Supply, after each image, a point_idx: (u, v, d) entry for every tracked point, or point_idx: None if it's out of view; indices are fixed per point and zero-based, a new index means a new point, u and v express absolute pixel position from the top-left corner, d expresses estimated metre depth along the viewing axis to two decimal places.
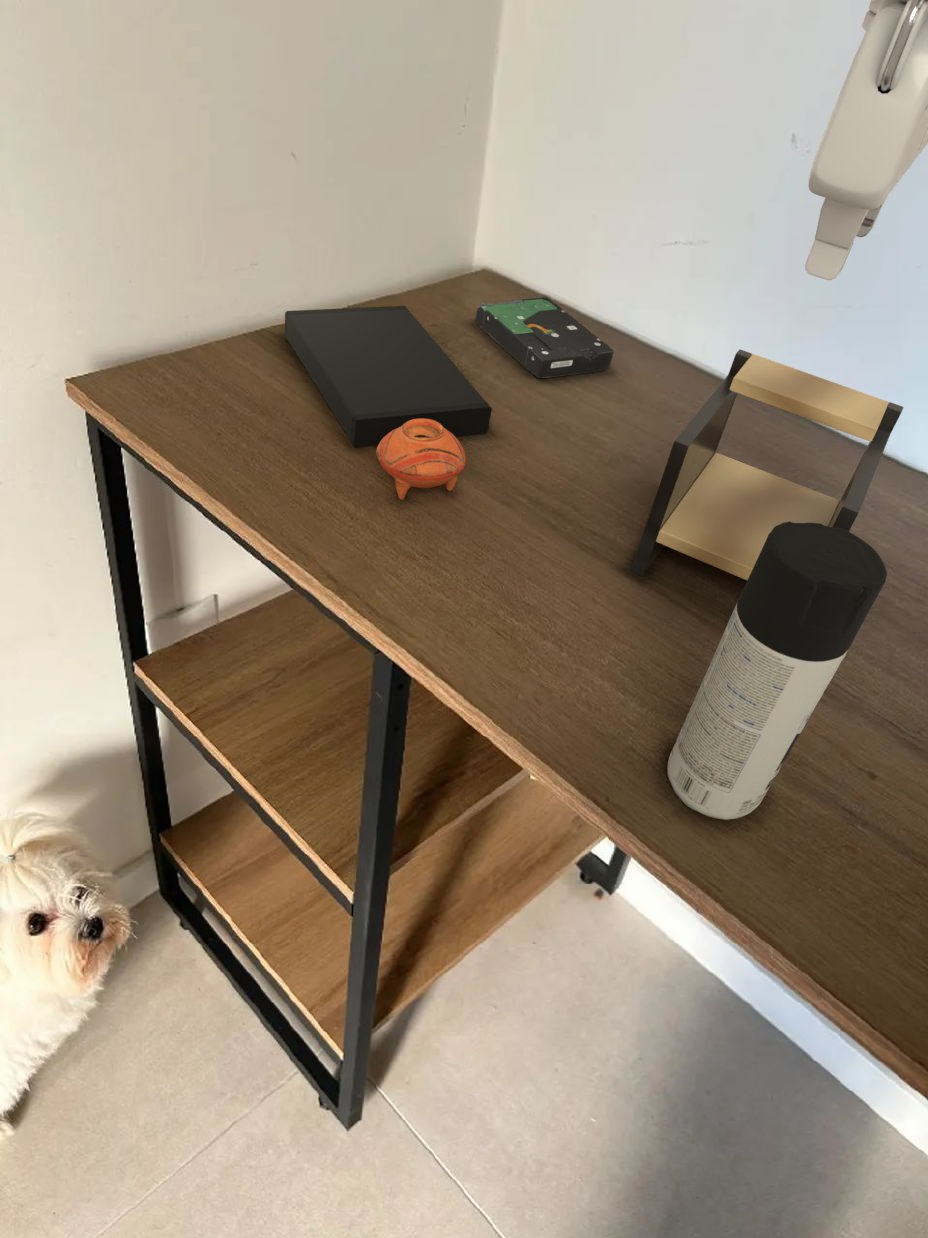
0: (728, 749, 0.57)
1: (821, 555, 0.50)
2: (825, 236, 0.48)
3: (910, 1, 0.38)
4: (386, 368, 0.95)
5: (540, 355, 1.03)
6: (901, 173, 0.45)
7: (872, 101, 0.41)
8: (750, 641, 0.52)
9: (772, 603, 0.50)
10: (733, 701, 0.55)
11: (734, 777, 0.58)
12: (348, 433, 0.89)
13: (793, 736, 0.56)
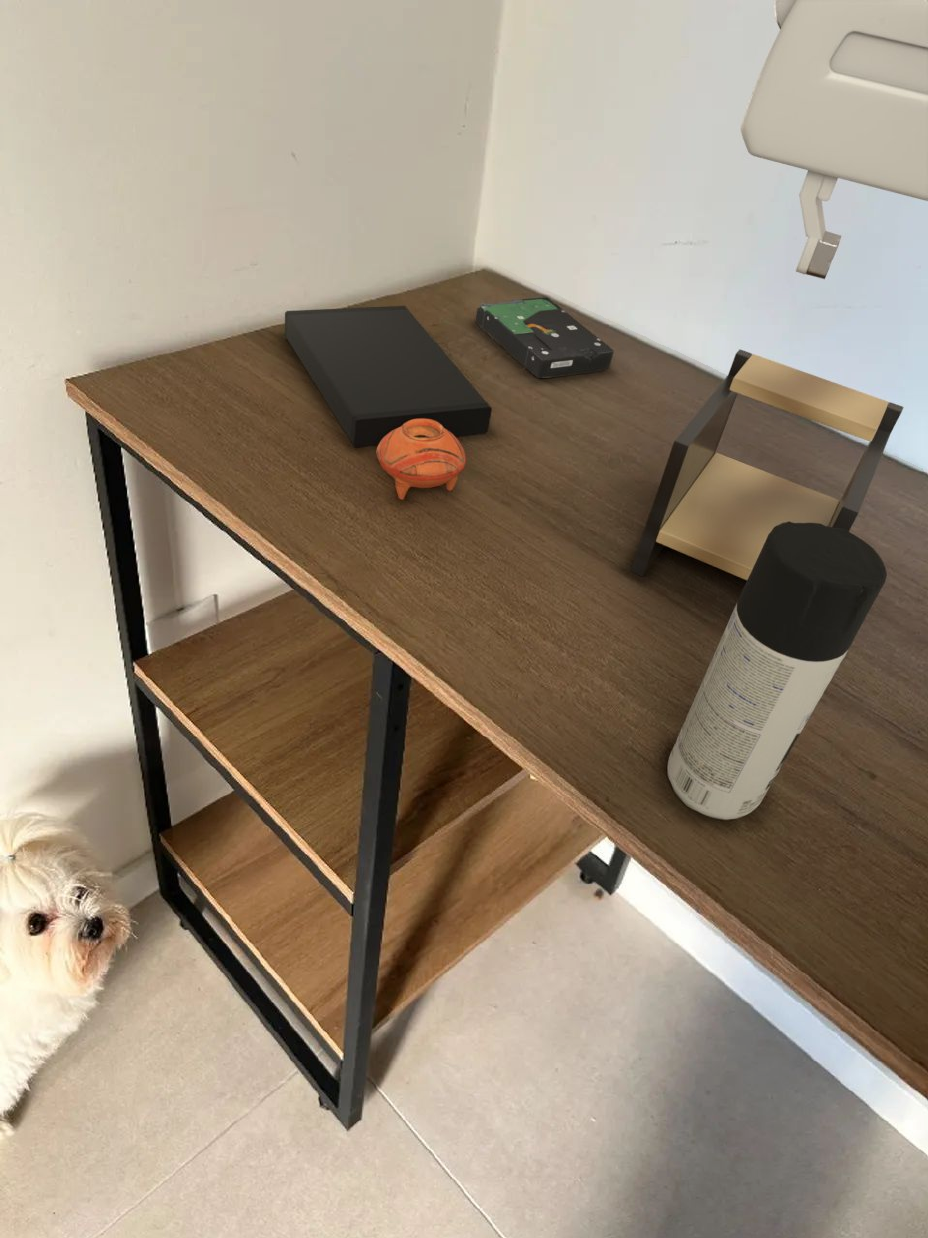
0: (728, 749, 0.57)
1: (820, 555, 0.50)
2: None
3: None
4: (386, 368, 0.95)
5: (540, 354, 1.03)
6: (841, 153, 0.41)
7: None
8: (750, 641, 0.52)
9: (772, 603, 0.50)
10: (733, 701, 0.55)
11: (734, 777, 0.58)
12: (348, 433, 0.89)
13: (793, 736, 0.56)
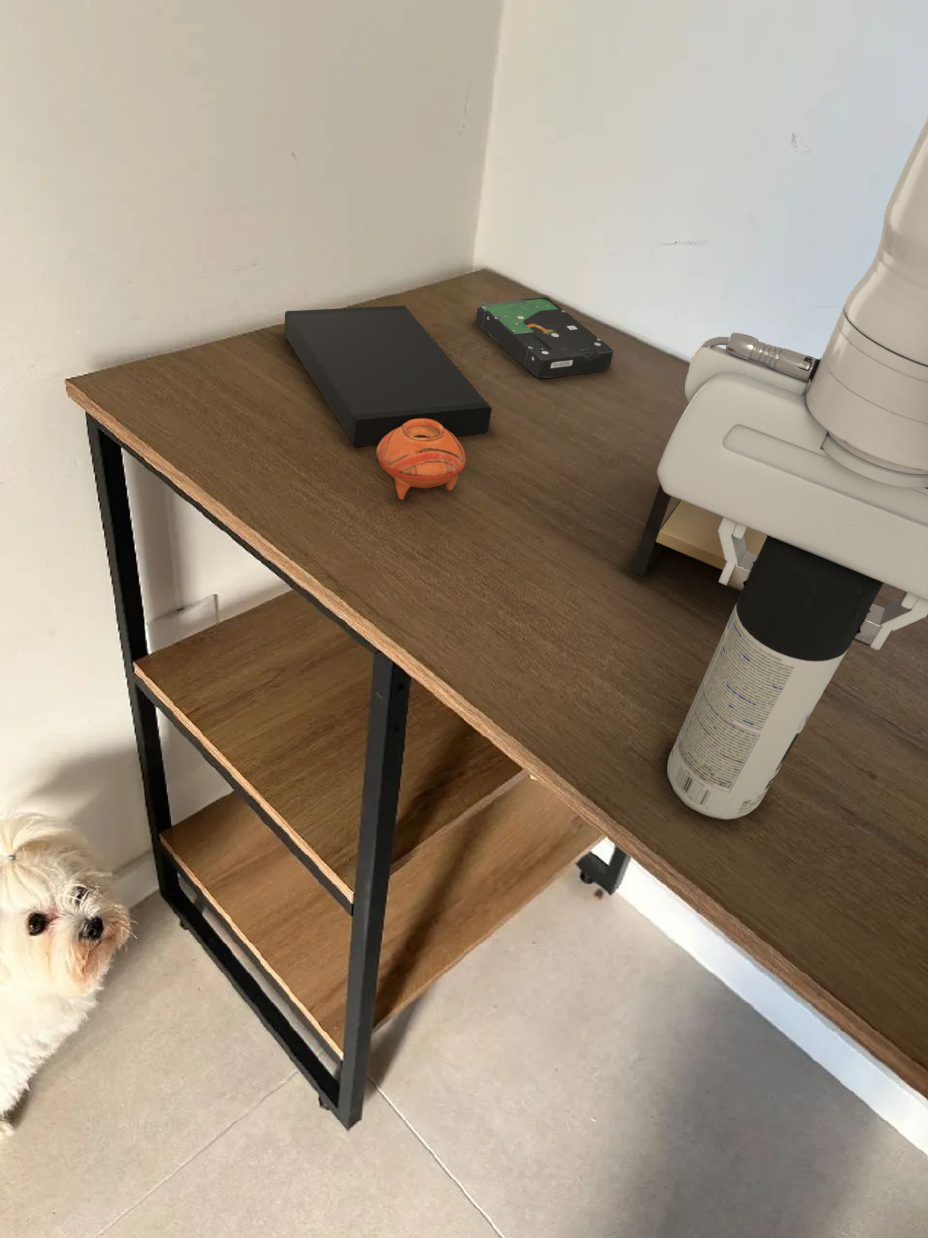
0: (727, 749, 0.57)
1: None
2: None
3: None
4: (385, 368, 0.95)
5: (540, 354, 1.03)
6: (734, 507, 0.49)
7: None
8: (749, 640, 0.52)
9: (771, 603, 0.50)
10: (733, 701, 0.55)
11: (734, 777, 0.58)
12: (348, 433, 0.89)
13: (793, 736, 0.56)
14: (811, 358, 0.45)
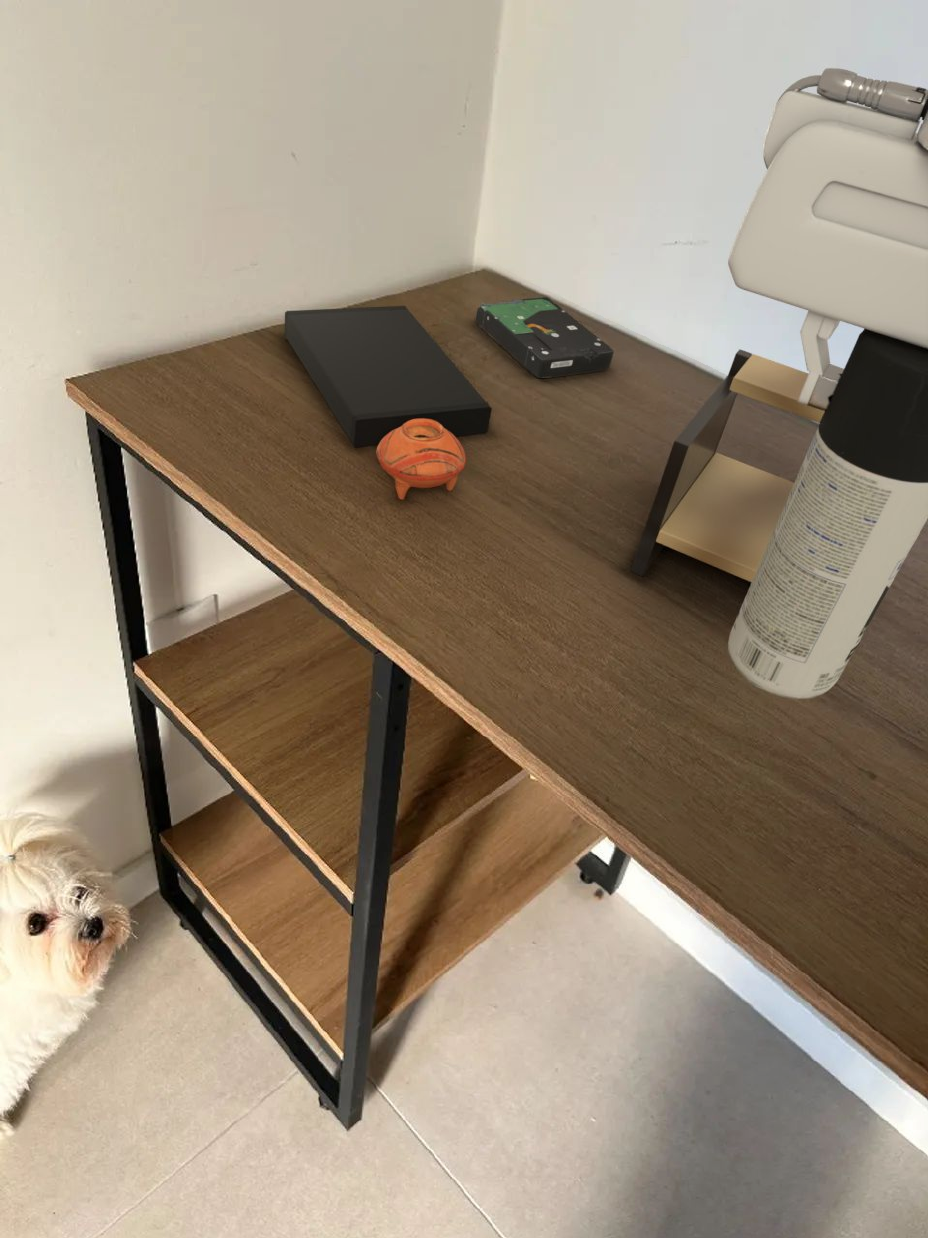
0: (806, 606, 0.49)
1: (924, 352, 0.42)
2: None
3: None
4: (385, 368, 0.95)
5: (540, 354, 1.03)
6: (823, 293, 0.42)
7: None
8: (837, 464, 0.44)
9: (867, 410, 0.42)
10: (814, 544, 0.47)
11: (811, 642, 0.50)
12: (348, 433, 0.89)
13: (882, 588, 0.48)
14: (924, 89, 0.38)
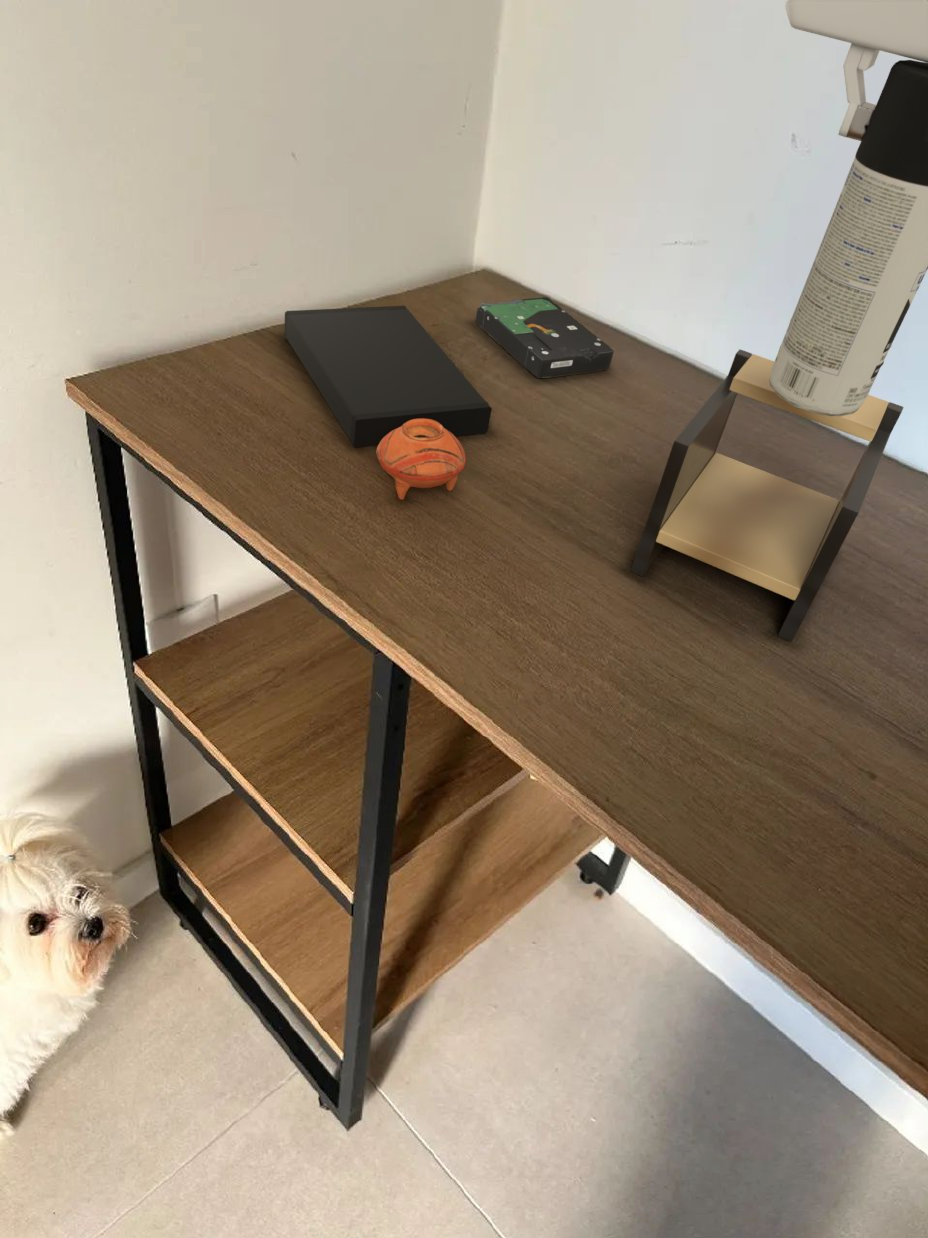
0: (840, 318, 0.58)
1: None
2: None
3: None
4: (385, 368, 0.95)
5: (540, 354, 1.03)
6: (864, 23, 0.51)
7: None
8: (872, 177, 0.54)
9: (898, 123, 0.52)
10: (850, 257, 0.56)
11: (844, 353, 0.60)
12: (348, 433, 0.89)
13: (905, 300, 0.58)
14: None
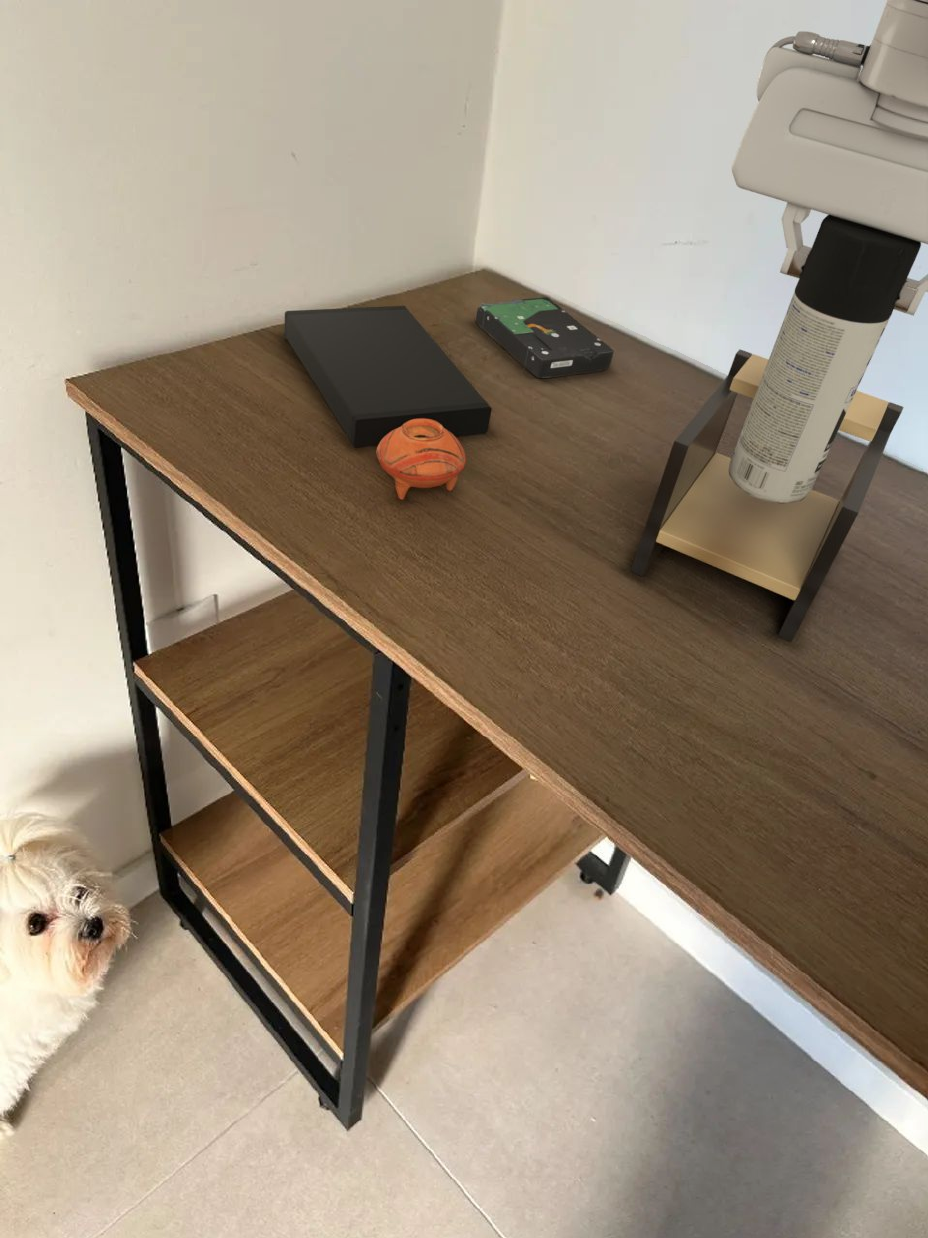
0: (785, 424, 0.68)
1: (867, 229, 0.61)
2: None
3: None
4: (385, 368, 0.95)
5: (540, 354, 1.03)
6: (797, 188, 0.61)
7: None
8: (807, 312, 0.63)
9: (827, 270, 0.61)
10: (791, 375, 0.66)
11: (790, 454, 0.69)
12: (348, 433, 0.89)
13: (840, 410, 0.67)
14: (863, 45, 0.56)
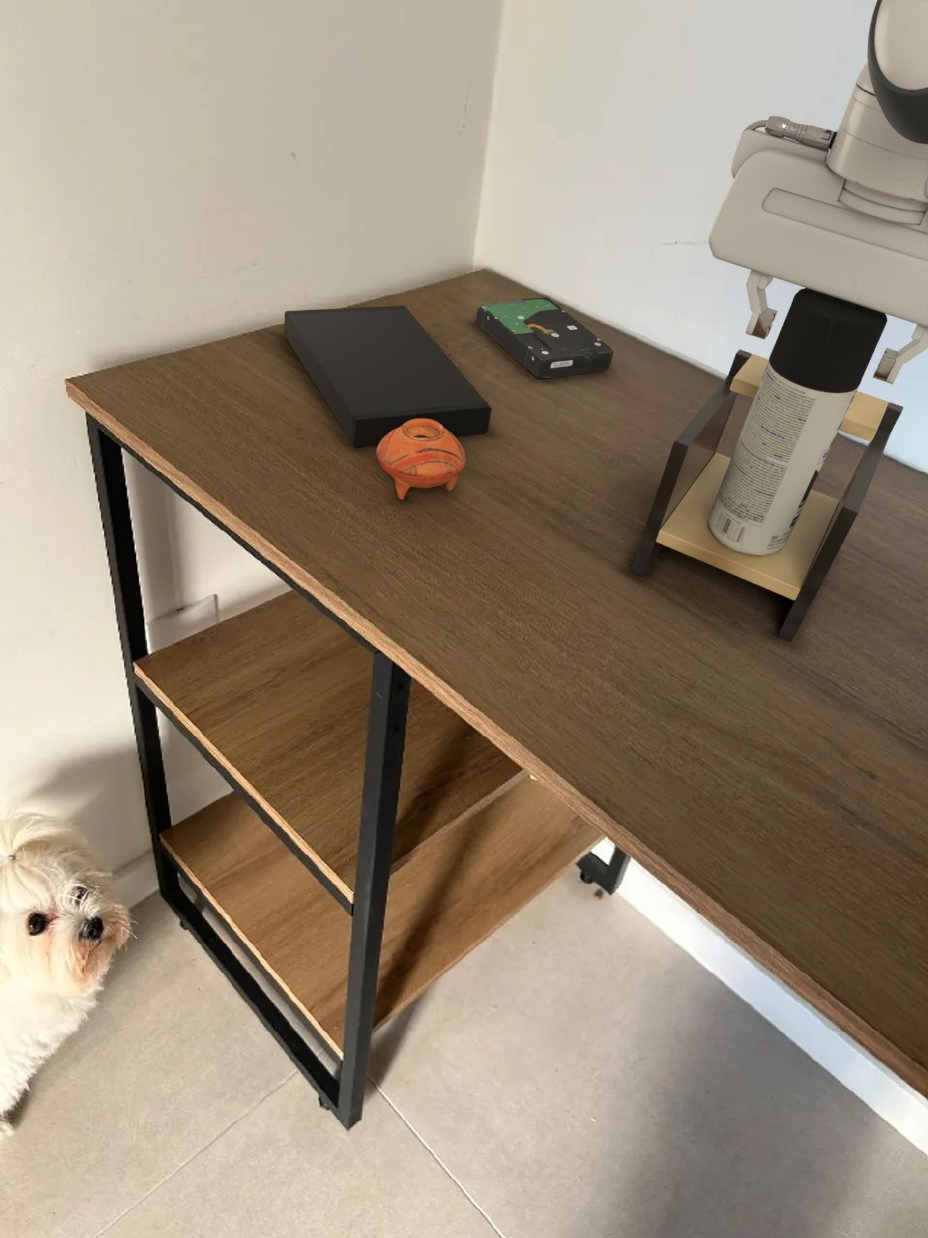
0: (760, 483, 0.71)
1: (836, 305, 0.64)
2: None
3: None
4: (385, 368, 0.95)
5: (540, 354, 1.03)
6: (770, 261, 0.64)
7: None
8: (780, 381, 0.67)
9: (798, 344, 0.65)
10: (766, 438, 0.69)
11: (765, 511, 0.72)
12: (348, 433, 0.89)
13: (813, 471, 0.70)
14: (831, 130, 0.60)
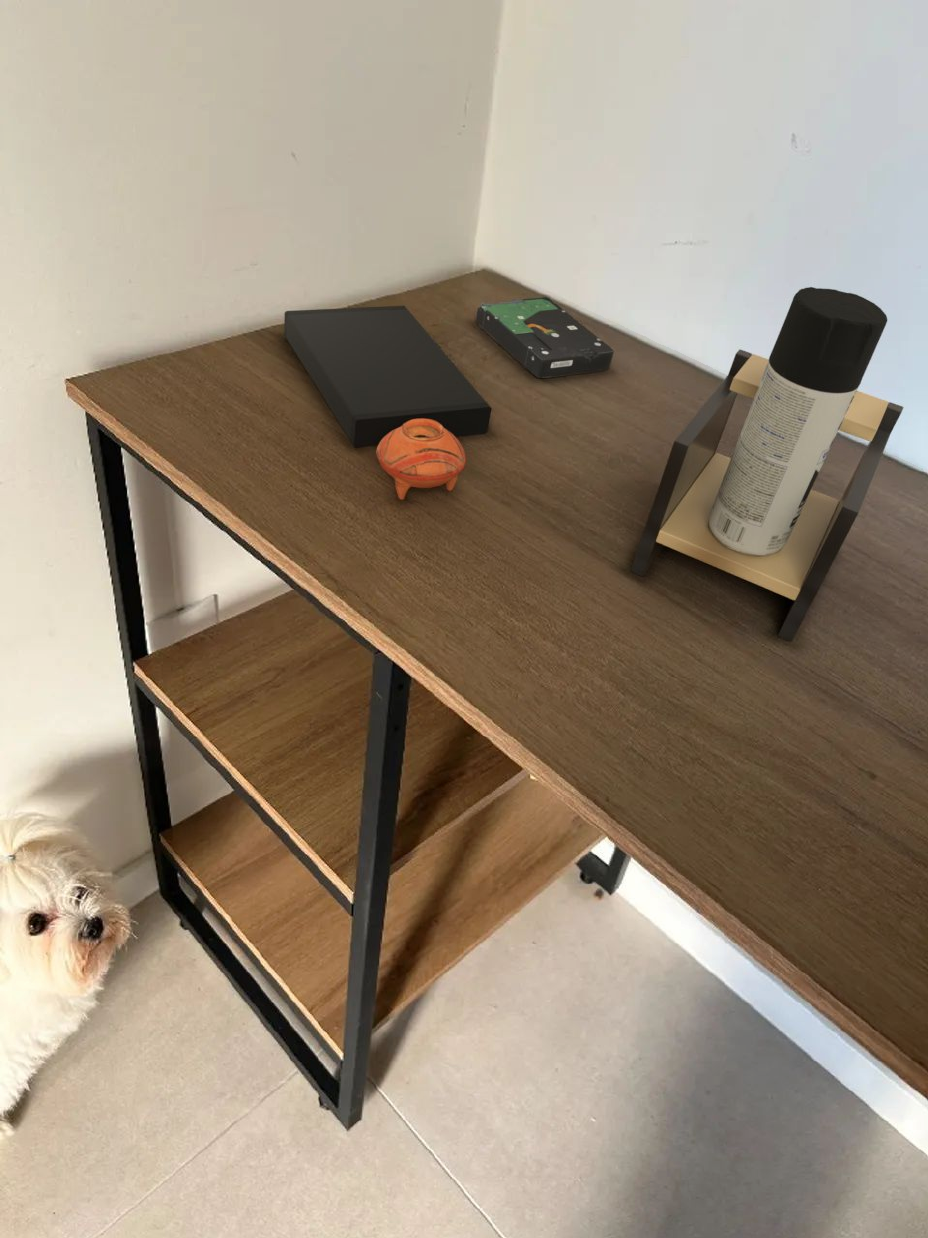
0: (760, 484, 0.71)
1: (836, 305, 0.64)
2: None
3: None
4: (385, 368, 0.95)
5: (540, 354, 1.03)
6: None
7: None
8: (780, 381, 0.67)
9: (798, 344, 0.64)
10: (766, 438, 0.69)
11: (765, 511, 0.72)
12: (348, 433, 0.89)
13: (813, 471, 0.70)
14: None
